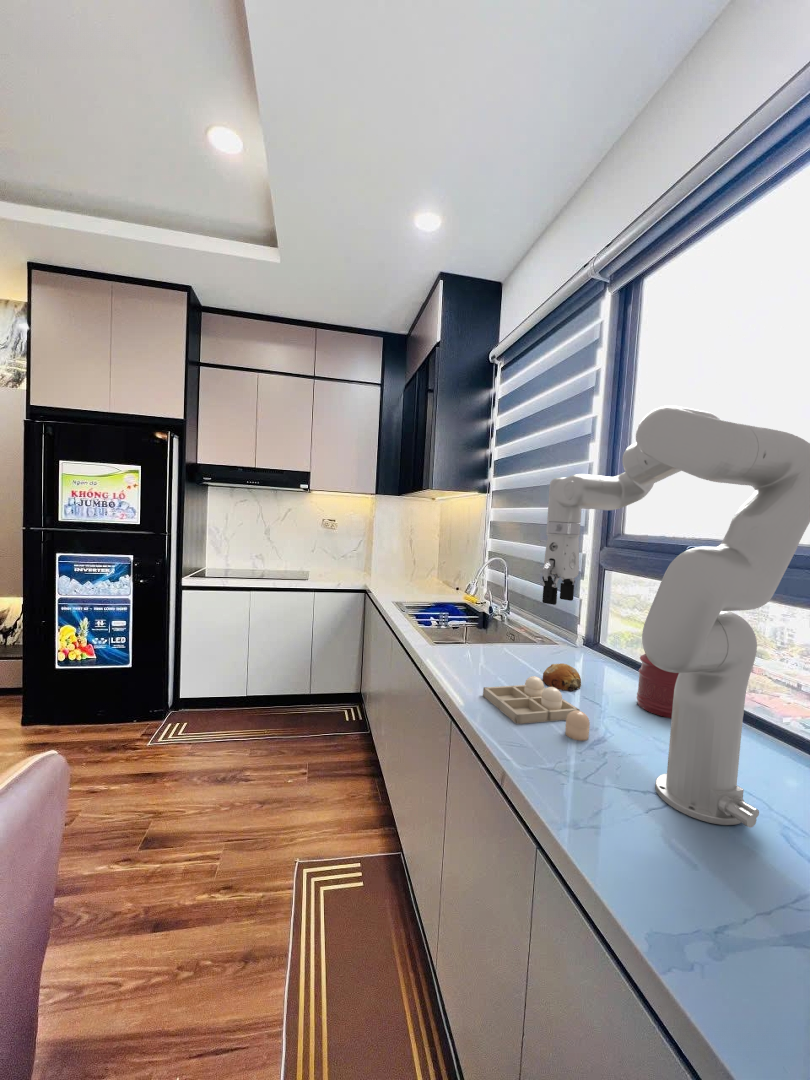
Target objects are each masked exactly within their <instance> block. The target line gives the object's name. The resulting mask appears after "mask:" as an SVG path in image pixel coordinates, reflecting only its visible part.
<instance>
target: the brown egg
mask: <svg viewBox="0 0 810 1080" xmlns="http://www.w3.org/2000/svg"><path fill="white" fill-rule="evenodd" d="M590 723H591V722H590V719H589V717H588V715H587V714H586V713H585V712H583V711H582V710H580V711H578V710H575V711H572V712H570V713H569V714H568V715H567V718H566V720H565V729H564V733H565V735H566V737H568V738H569V739H572V740H575V741H581V742H583V741H588V740H589V738H590V727H591V724H590Z"/></svg>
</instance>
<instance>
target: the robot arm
mask: <svg viewBox="0 0 810 1080" xmlns="http://www.w3.org/2000/svg"><path fill="white" fill-rule="evenodd" d="M622 466H623V469H624V472H622V473H620V474H617V475H615V476H605V475H597V474H586V473H576V474H572V475H570V476H567V477H555V478H553V479H551V481H550V483H549V490H548V491H549V492H548V503H547V516H546V517H547V518H546V519H547V520H546V533H545V535H546V536H547V540H546V545H545V553H544V563H543V564H544V565H543V567H542V569H541V573H542V586H543V587H542V604H547V605H553V606H554V605H557V599H558V587H557V585H558V583H559V580H560V578H561V582H560V587H559V588H560V589H559V590H560V591H559V599H560V600H563V601H570V602H572V601H574V597H575V596H574V595H575V594H574V593H575V583H576V580H575V578H578V576H579V569H580V542H579V541H580V540H579V538H580V533H581V521H582V510H599V511H616V510H619V509H622V508H625V507H627V506H630V505H632V504H634V503H637V502H639V501H640V500H643V498H645V497H646V496H647V495H648V494H649V493H650V492H651V490H652V489H653V487H654V484H656V483H658V482H661V481H663V480H665V479H666V478H669V477H671V476H673V475H675V474H677V473H679V472H680V473H681V472H683V473H686V474H689V475H690V476H694V477H696V478H699V479H701V480H704V481H705V480H706V481H708V482H713V483H720V484H723V483H724V484H728V485H729V484H730V485H739V486H740V485H741V486H749V487H750V486H751V487H752V488H753V489H754V492H753V493H752V495H751V496H750V497H749V498H748V499H747V500H746V501H745V502H744V503H743V504H741V506H740V507H739V509H738V510H737V511H736V513H735V514H734V516H733V517H732V519H731V521H730V524H729V526H728V529H727V531H726V533H725V535H724V537H723V539H722V541H721V542H720V544H719V545H718V546H698V547H692V548H689V549H687V550H685V551H683V552H681V553H680V554H678V555H677V556H676V557H675V558H674V559H673V560H672V561H671V562H670V563H669V565H668V566H667V569H666V570H665V572H664V575H663V576H662V579H661V582H660V584H659V586H658V589H657V591H656V594H655V596H654V598H653V601H652V603H651V606H650V608H649V611H648V614H647V616H646V618H645V621H644V625H643V629H642V632H641V633H642V635H641V636H642V638H641V640H642V641H641V642H642V643H641V644H642V648H643V651H644V654H646V656H647V657H648V659H649V660H650V661H651V662H652V663H653V664H654V665H655V666H656V667H658V668H660V669H662V670H664V671H668V672H673V673H679V675H678V677H677V680H676V684H675V689H674V698H673V708H672V718H670V719H671V721H670V731H669V732H670V733H669V734H670V735H669V744H668V756H667V770H666V773H663V774H660V775H659V776H657V777H656V779H655V781H654V782H655V784H654V785H655V787H654V788H655V791H656V793H657V794H658V796H659V797H660V799H661V800H663V802H665V804H666V803H667V804H668V805H669V806H670V807H672V808H673V809H674V810H677V811H679V812H680V813H682V814H684V815H687V816H689V817H691V818H693V819H696V820H698V821H703V822H705V823H710V824H714V825H721V826H735V825H739V824H741V823H742V824H743V825H745V826H746V827H747V828H754V827H755V825H756V823H757V818H758V817H759V815H760V811H759V809H757V808H756V807H754V806H752V805H751V804H748V803H747V802H745V800H744V798H743V797H744V791H745V790H744V789H743V787H740V786H739V785H738V776H739V775H738V773H739V765H740V762H739V761H740V755H741V753H740V752H741V741H742V733H743V732H742V730H743V720H744V712H745V704H746V694H747V688H748V684H749V680H750V676H751V673H752V670H753V667H754V663H755V661H756V657H757V652H758V639H757V636H756V633H755V631H754V628H752V626H751V624H750V623H749V622H748V621H747V620H746V619H745V618H743V617H742V616H740V615H738V614H737V613H734V612H735V611H736V612H738V611H739V612H740V611H749V610H756V609H759V608H762V607H763V606H765V605H766V604H768V603H769V602H770V600H771V599H772V598H773V596H774V595H775V592H776V591H777V589H778V587H779V585H780V583H781V581H782V578H783V577H784V574H785V573H786V571H787V569H788V567H789V565H790V563H791V561H792V559H793V557H794V555H795V554H796V552H797V549H798V547H799V544H800V542H801V540H802V538H803V536H804V534H805V532H806V530H807V529H808V527H809V524H810V442H808V441H807V440H805V439H803V438H801V437H800V436H798V435H795V434H793V433H790V432H786V431H782V430H778V429H773V428H768V427H761V426H755V425H748V424H743V423H738V422H737V423H736V422H733V421H727V420H722V419H721V418H720V417H718V416H717V415H715V414H714V413H712V412H709V411H706V410H699V409H696V408H695V409H694V408H689V407H683V406H679V405H664V406H663V405H662V406H660V407H658V408H654V409H653V410H651V411H650V412H648V413H647V414H646V415H645V416H644V417H643V418H642V420H641V421H640V422H639V424H638V426H637V428H636V431H635V443H633V444H630V445H629V446H628V447H627V448H626V449H625V451H624V452H623V455H622Z"/></svg>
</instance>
